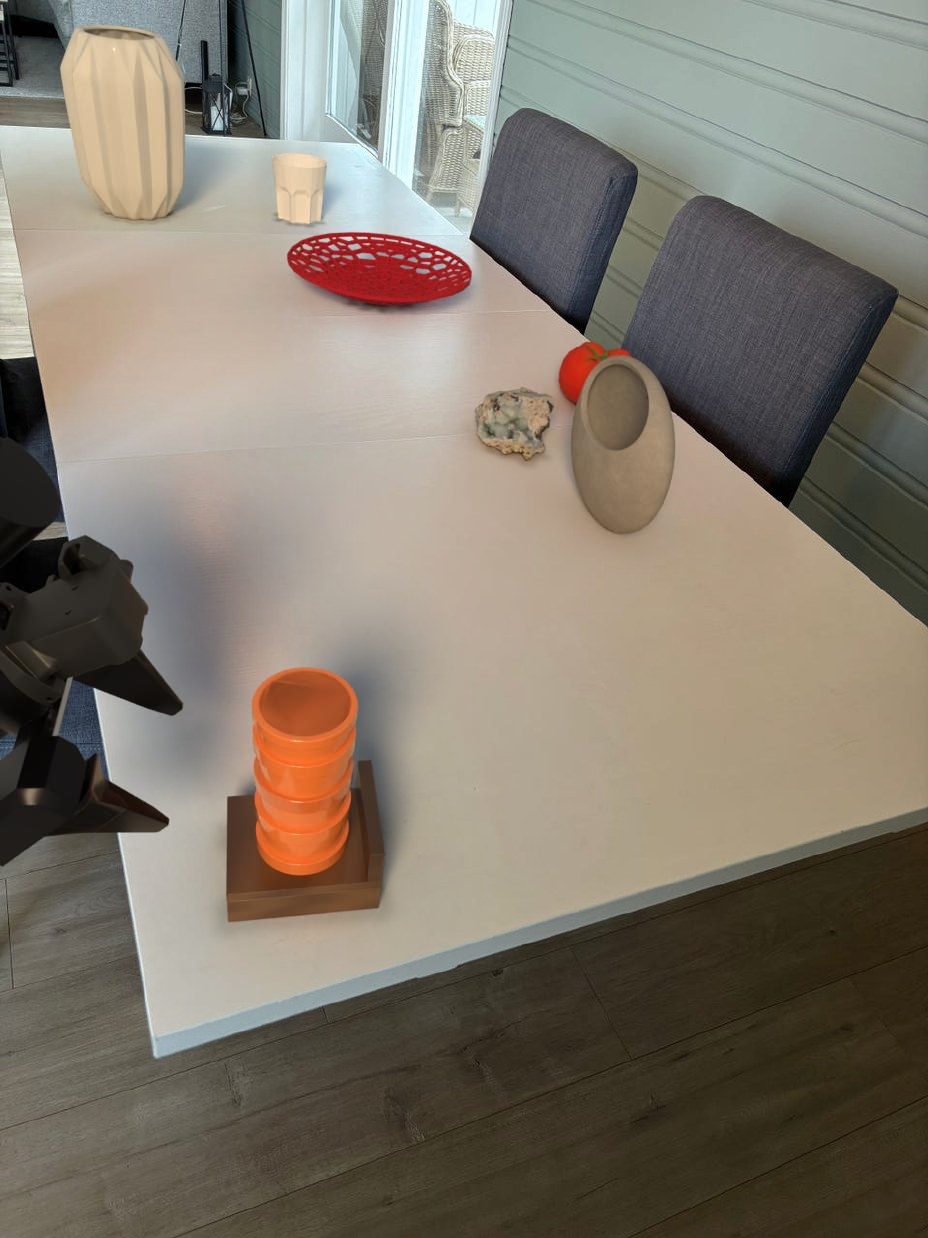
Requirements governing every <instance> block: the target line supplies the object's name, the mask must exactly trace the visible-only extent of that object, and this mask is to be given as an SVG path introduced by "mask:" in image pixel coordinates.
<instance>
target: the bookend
mask: <svg viewBox="0 0 928 1238" xmlns="http://www.w3.org/2000/svg"><path fill="white" fill-rule="evenodd" d="M355 775H356V777H355V787H350V790H351V808H350V814H349V817H348V821H349V835H348V843H347V847H346V849H345V851H344V853H343V855H342V856H341V857H340V858H339V860H338V861H337V862H336V863H334V864H333V865H332V866H330V867H329V868H327V869H325V870H323V871H321V872H318V873H315V874H311V875H290V874H286V873H283V872H280V871H278V870H276V869H274V868H273V867H271V866H270V865H269V864H267V863H266V862H265V861H264V859H263V858H262V857H261V855H260V853H259V851H258V848H257V844H256V823H257V818H256V814H255V794H244V795H228V796H227V797H226V861H225V863H226V864H225V865H226V867H225V868H226V869H225V871H226V873H225V877H226V878H225V879H226V880H225V889H226V890H225V899H226V900H225V901H226V912H227V922H228V923H236V922H237V923H238V922H248V921H258V920H269V919H278V918H279V919H280V918H288V917H289V918H290V917H299V916H310V915H321V914H322V915H323V914H332V913H342V912H352V911H353V912H354V911H363V910H372V909H373V910H374V909H379V908H380V900H381V894H382V893H381V891H382V885H383V875H384V866H385V858H386V851H385V844H384V837H383V830H382V823H381V816H380V810H379V809H380V808H379V803H378V794H377V787H376V781H375V775H374V767H373V761H372V760H371V759H362V760H361V759H360V760H357V763H356V774H355Z"/></svg>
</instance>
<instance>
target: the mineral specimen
mask: <svg viewBox="0 0 928 1238" xmlns="http://www.w3.org/2000/svg"><path fill="white" fill-rule="evenodd" d="M555 407H556V403H555V398H554V396H552V395H550V394H547V393H538V392H536V391H533V390H531V389H529V388H527V387H523V386H521V387H520V388H517V389H511V390H498V391H495V392H491V393H488V394H486V395H485V397H484V400H483V403H480V404H479V405H478V406H477V407H476V408H475V409H474V413H475V414H476V415H475V417H474V420H475V421H476V429H477V430H476V433H477V435H478V437H479V438H480V441H481V442H482V443H483V444H484V445H486V446H487V447H493V448H494V449H497V450H499V452H501V453H502V454H503V455H506V454H512V453H513V452H516V453H521V454H522V457H523V459H524V461H530V459H532V457H533V456H534V455H535V454H541V453H544V451H545V450H546V445H545V442H543V439H542V438H543V433H544V432H545V431H546V430H547V429H548V428H550V426H551V419H550V415H551V413H552V412H553V411H554V408H555Z"/></svg>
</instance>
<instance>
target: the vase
mask: <svg viewBox="0 0 928 1238" xmlns="http://www.w3.org/2000/svg"><path fill="white" fill-rule="evenodd" d="M59 69H60V70H59V71H60V77H61V83H62V89H63V95H64V96H63V97H64V102H65V108H66V112H67V117H68V122H69V127H70V132H71V137H72V142H73V147H74V152H75V157H76V161H77V166H78V169H79V175H80V179H81V181H82V183H83V184H84V186H85V187H86V188H87V190H88V191H89V193H90V194H91V196H92V197H93V199H94V200H95V201H96V203H97V205H98V206H99V207H100V208H101V209H102V211H103V212H104V213H105V214H109V215H113V216H114V217H115V218H119V219H127V220H131V221H138V220H139V221H141V220H142V221H143V220H144V221H153V220H156V219H162V218H166V217H167V216H168V214H172V213H173V211H174V208H175V207H176V205H177V202H178V200H179V197H180V195H181V193H182V191H183V185H184V183H185V178H186V177H185V176H186V167H185V166H186V96H185V94H186V93H185V77H184V73H183V71H182V69H181V67H180V65H179V63H178V61H177V59H176V58H175V56H174V54H173V52H172V51H171V49H170V47H169V45H168V43H167V42H166V40H165V39H164V38H163V37H162V36H161V35H160V34H159V33H158V32H153V31H149V30H146V29H144V28H137V27H135V28H134V27H129V26H125V25H111V24H97V25H92V24H86V25H82V26H78V27H75V28H74V29H73V31H72V33H71V37H70V39H69V41H68V44H67V47H66V50H65V52H64V55H63V57H62V60H61V64H60V67H59Z"/></svg>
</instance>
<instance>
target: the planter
mask: <svg viewBox="0 0 928 1238" xmlns="http://www.w3.org/2000/svg"><path fill="white" fill-rule="evenodd" d="M570 455H571V456H570V457H571V465H572V471H573V475H574V480H575V483H576V486H577V489H578V493H579V495H580V496H581V499H582V501H583V503H584V505H585V507H586V509H588V511H589V513H590V515H592V517H593V518H594V519H595V520H596V521H597V522H598V523H599V524H600V525H601V526H603V527H604V528H605V529H608V530H609V531H610V532H614V533H618V534H623V535H625V534H633V533H636V532H639V531H641V530H642V529H644V528H646V527H647V526H648V525H650V524H651V523H652V521H653V520H654V519H655V518H656V517H657V515H658V514H659V512H660V510H661V509H662V507H663V505H664V502H665V501H666V499H667V496H668V493H669V490H670V486H671V484H672V479H673V473H674V468H675V458H676V433H675V423H674V418H673V414H672V409H671V406H670V401H669V399H668V397H667V394H666V392H665V390H664V388H663V386H662V384H661V381H660V380H659V379H658V378H657V376H656V375H655V374H654V372H653V371H652V370H651V369H650V368H649V367H648V366H647V365H646V364H644V363H643V362H642V361H640V360H639V359H636V358H635V357H632V356H631V357H629V356H624V355H616V356H611V357H608V358H606V359H604V360H603V361H601V362H600V363H598V364H597V365H596V366H595V367H594V368H593V369H592V371H591V372H590V374H589V375H588V377H587V379H586V381H585V383H584V385H583V387H582V390H581V393H580V395H579V398H578V402H577V404H576V406H575V410H574V413H573V418H572V423H571V436H570Z"/></svg>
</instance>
